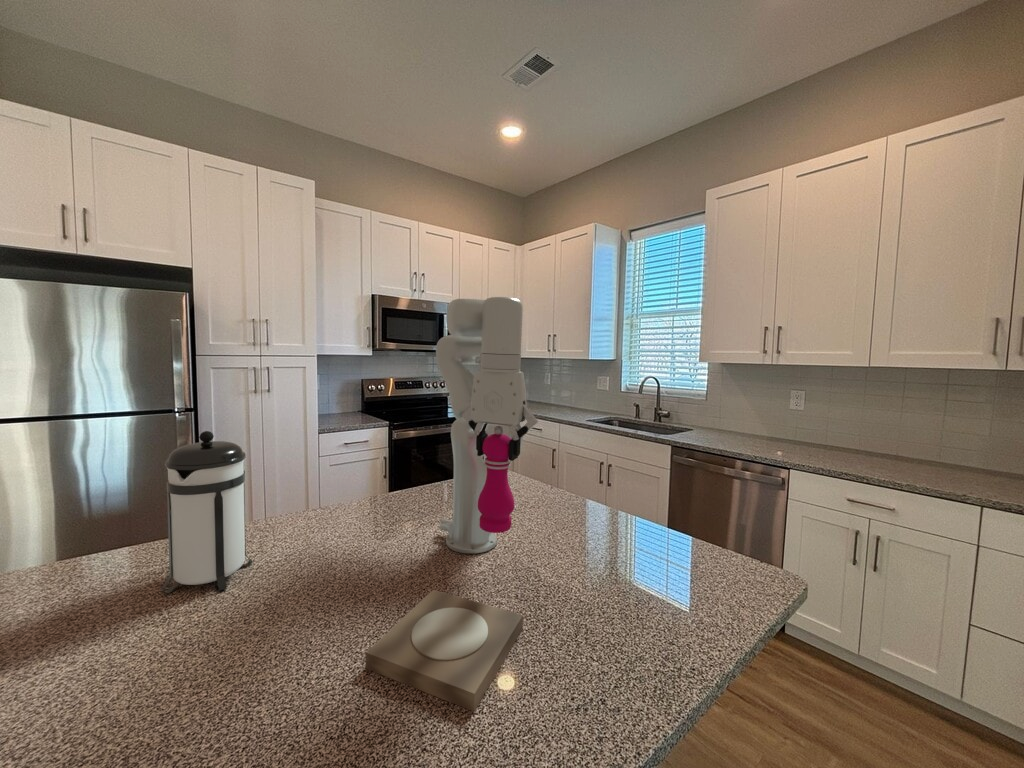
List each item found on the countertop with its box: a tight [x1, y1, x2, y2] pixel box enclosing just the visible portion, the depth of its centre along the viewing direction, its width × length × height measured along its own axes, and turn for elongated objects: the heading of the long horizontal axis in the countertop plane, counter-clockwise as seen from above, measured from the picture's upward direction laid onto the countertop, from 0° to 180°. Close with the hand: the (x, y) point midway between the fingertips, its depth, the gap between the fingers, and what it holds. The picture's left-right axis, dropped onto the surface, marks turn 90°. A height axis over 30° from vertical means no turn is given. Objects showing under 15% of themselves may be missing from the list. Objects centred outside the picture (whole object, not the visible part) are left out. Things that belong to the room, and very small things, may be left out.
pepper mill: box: [478, 426, 515, 534], centre depth 81 cm, size 7×7×20 cm
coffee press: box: [161, 430, 253, 595], centre depth 84 cm, size 17×16×30 cm
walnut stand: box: [365, 589, 524, 712], centre depth 66 cm, size 18×18×3 cm
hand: (497, 455), depth 80 cm, fingers closed on pepper mill, 5 cm apart
